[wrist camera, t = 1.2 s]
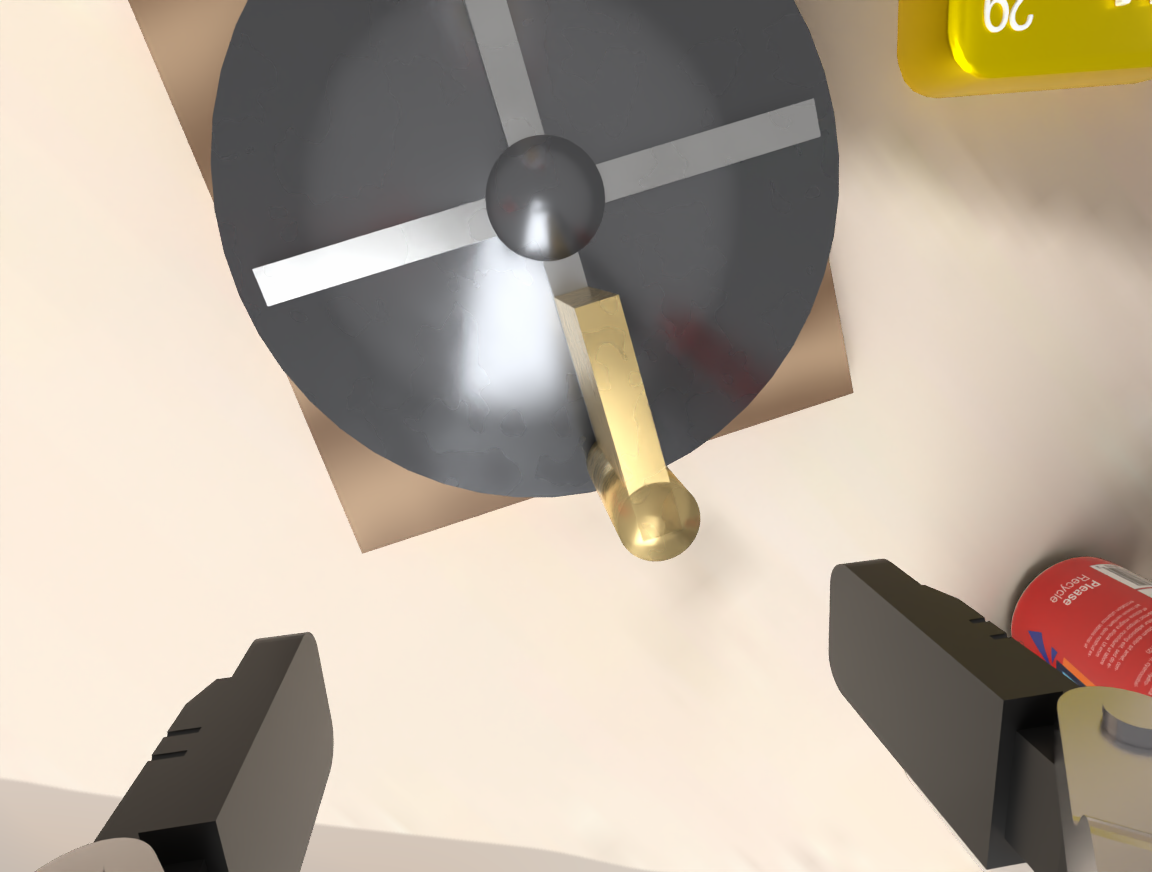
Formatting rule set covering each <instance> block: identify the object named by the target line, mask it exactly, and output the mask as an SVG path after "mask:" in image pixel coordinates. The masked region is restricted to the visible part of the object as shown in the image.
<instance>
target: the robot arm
mask: <svg viewBox="0 0 1152 872" xmlns="http://www.w3.org/2000/svg"><path fill="white" fill-rule="evenodd" d="M829 661H830V667H831V671H832V674H833V677H834V680H835V682H836V684H837V686H838V688H839V690H840V692H841V693H842V695H843V696H844V697H845V698H846V700H847V701H848V702H849V703H850V704H851V706H852V707H853V708H854V709H855V710H856V712H857V713H858V714H859V715H860V717H861V718H862V719H863V720H864V721H865V723H866V724H867V725H868V726H869V728H870V729H871V730H872V731H873V732H874V734H875V735H876V736H877V737H878V738H879V740H880V741H881V742H882V743H883V745H884V746H885V747H886V748H887V749H888V751H889V752H890V753H891V754H892V756H893V757H894V758H895V759H896V760H897V762H898V763H899V764H900V765H901V766H902V768H903V769H904V770H905V773H906V775H907V777H908V778H909V780H910V782H911V783H912V785H913V786H914V787H915V788H916V789H917V791H918V792H919V793H920V794H921V796H922V797H923V798H924V799H925V800H926V802H927V803H928V804H929V805H930V807H931V808H932V809H933V810H934V812H935V813H936V814H937V815H938V816H939V818H940V819H941V820H942V821H943V823H944V824H945V825H946V826H947V828H948V829H949V830H950V831H951V833H952V834H953V835H954V837H955V838H956V839H957V840H958V841H959V843H960V844H961V845H962V846H963V848H964V849H965V850H966V851H967V853H968V854H969V855H970V856H971V857H972V859H973V860H974V861H975V862H976V864H977V865H978V866H979V867H980V868H981V870H982V871H983V872H1152V697H1150V696H1147V695H1144V694H1140V693H1137V692H1133V691H1129V690H1125V689H1119V688H1113V687H1102V686H1087V687H1081V686H1079V685H1078V684H1076V683H1075V682H1074V681H1072V680H1071V679H1069V678H1068V677H1067V676H1065V675H1064V674H1062V673H1061V672H1060V671H1058V670H1057V669H1055V668H1054V667H1053V666H1051V665H1050V664H1048V663H1047V662H1046V661H1044V660H1043V659H1042V658H1040V657H1039V656H1037V655H1036V654H1035V653H1033V652H1032V651H1030V650H1029V649H1028V648H1026V647H1025V646H1023V645H1022V644H1021V643H1019V642H1018V641H1016V640H1015V639H1014V638H1012V637H1010V638H1008V637H1007V635H1006V633H1005V632H1004V631H1003V630H1001V629H1000V628H998V627H997V626H996V625H994V624H993V623H991V622H990V621H988V622H986V621H985V618H984V617H983V616H982V615H980V614H979V613H977V612H976V611H975V610H973V609H972V608H970V607H969V606H968V605H966V604H965V603H964V602H962V601H961V600H959V599H957V598H955V597H953V596H950V595H948V594H945V593H943V592H940V591H938V590H935V589H933V588H931V587H928V586H926V585H921V584H919V583H918V582H917V581H915V580H914V579H913V578H911V577H910V576H909V575H907V574H906V573H905V572H903V571H902V570H901V569H899V568H898V567H897V566H895V565H894V564H893V563H891V562H890V561H888V560H886V559H877V560H869V561H861V562H854V563H846V564H839V565H836V566H835V567H834V569H833V571H832V574H831V580H830V617H829ZM332 758H333V727H332V720H331V715H330V710H329V705H328V699H327V694H326V689H325V684H324V679H323V673H322V668H321V663H320V658H319V653H318V648H317V644H316V641H315V638H314V636H313V635H312V634H311V633H310V632H306V633H298V634H291V635H283V636H275V637H268V638H260V639H256V640H255V641H254V642H253V643H252V644H251V646H250V648H249V649H248V651H247V653H246V654H245V656H244V658H243V659H242V661H241V663H240V664H239V666H238V668H237V669H236V671H235V673H234V674H233V676H232V677H230V678H222V679H216V680H215V681H214V682H213V683H211V684H210V685H209V686H208V687H207V688H205V689H204V690H203V691H202V692H200V693H199V694H198V695H197V696H195V697H194V698H193V699H192V700H191V701H189V702H188V703H187V704H186V705H185V706H184V708H183V709H182V711H181V712H180V714H179V715H178V717H177V718H176V720H175V721H174V723H173V724H172V726H171V727H170V729H169V730H168V735H167V737H164V738H163V739H162V741H161V742H160V744H159V745H158V747H157V748H156V750H155V751H154V753H153V754H152V760H151V761H148V762H147V763H146V765H145V766H144V768H143V769H142V771H141V772H140V774H139V775H138V777H137V778H136V780H135V781H134V783H133V784H132V786H131V787H130V789H129V790H128V792H127V793H126V795H125V796H124V798H123V799H122V801H121V802H120V803H119V805H118V806H117V808H116V809H115V811H114V813H113V814H112V815H111V817H110V819H109V820H108V821H107V823H106V824H105V826H104V828H103V829H102V831H101V832H100V833H99V835H98V837H97V838H96V839H95V841H94V843H91V844H87V845H85V846H82V847H80V848H77V849H74V850H72V851H70V852H68V853H66V854H64V855H62V856H60V857H58V858H56V859H54V860H52V861H51V862H49V863H47V864H46V865H44V866H42V867H41V868H39V869H38V870H36V871H35V872H300V870H301V866H302V863H303V859H304V856H305V853H306V850H307V846H308V843H309V839H310V836H311V833H312V830H313V826H314V823H315V820H316V816H317V813H318V810H319V806H320V803H321V800H322V796H323V793H324V790H325V786H326V783H327V780H328V776H329V773H330V769H331V765H332Z"/></svg>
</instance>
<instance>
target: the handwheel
mask: <svg viewBox="0 0 1152 872" xmlns="http://www.w3.org/2000/svg"><path fill="white" fill-rule="evenodd" d="M211 174H212V186H213V197H214V209H215V213H216V218H217V222H218V227H219V232H220V236H221V241H222V245H223V250H224V254H225V257H226V259H227V262H228V265H229V268H230V271H231V274H232V276H233V279H234V282H235V285H236V288H237V290H238V293H239V296H240V298H241V300H242V302H243V304H244V306H245V308H246V310H247V312H248V314H249V316H250V318H251V320H252V322H253V324H254V326H255V327H256V329H257V331H258V333H259V335H260V337H261V338H262V340H263V341H264V343H265V344H266V346H267V347H268V349H269V350H270V352H271V353H272V355H273V356H274V358H275V359H276V360H277V362H278V363H279V365H280V366H281V368H282V369H283V371H284V372H285V373H286V374H287V375H288V376H289V378H290V379H291V380H292V381H293V382H294V383H295V385H296V386H297V387H298V388H299V389H300V390H301V391H302V393H303V394H304V395H305V396H306V397H307V398H308V400H309V401H310V402H311V403H312V404H313V405H315V406H316V407H317V408H318V409H319V410H320V411H321V412H322V413H323V414H325V415H326V416H327V417H328V418H329V419H330V420H331V421H332V422H333V423H335V424H336V425H337V426H338V427H339V428H340V429H341V430H343V431H344V432H346V433H347V434H348V435H350V436H351V437H353V438H354V439H356V440H357V441H358V442H360V443H361V444H363V445H364V446H366V447H367V448H368V449H370V450H371V451H373V452H374V453H376V454H378V455H380V456H382V457H384V458H386V459H388V460H390V461H391V462H393V463H395V464H397V465H399V466H401V467H403V468H405V469H406V470H408V471H411V472H414V473H416V474H419V475H422V476H424V477H427V478H429V479H432V480H435V481H437V482H440V483H443V484H446V485H450V486H454V487H458V488H462V489H466V490H470V491H474V492H478V493H485V494H493V495H502V496H510V497H559V496H566V495H574V494H581V493H589V492H593V491H597V492H598V494H599V496H600V498H601V500H602V502H603V504H604V506H605V509H606V511H607V513H608V515H609V517H610V519H611V521H612V523H613V525H614V527H615V529H616V531H617V533H618V535H619V537H620V539H621V541H622V543H623V545H624V546H625V547H626V549H627V550H628V551H629V552H630V553H632V554H633V555H635V556H636V557H638V558H641V559H643V560H648V561H664V560H668V559H671V558H673V557H676V556H677V555H679V554H681V553H682V552H683V551H685V550H686V549H687V548H688V547H689V546H690V545H691V543H692V542H693V540H694V539H695V537H696V535H697V533H698V530H699V526H700V511H699V507H698V504H697V502H696V500H695V499H694V497H693V496H692V495H691V494H690V492H689V491H688V490H687V489H686V488H685V487H684V486H683V484H682V483H681V482H680V481H679V480H678V479H677V478H676V476H675V475H674V474H673V473H672V472H671V471H670V470H669V469H668V467H667V465H669V464H671V463H672V462H674V461H676V460H678V459H680V458H681V457H683V456H685V455H687V454H689V453H691V452H692V451H693V450H695V449H696V448H698V447H699V446H700V445H702V444H703V443H705V442H706V441H707V440H709V439H710V438H712V437H713V436H714V435H716V434H717V433H719V432H720V431H721V430H722V429H723V428H724V427H726V426H727V425H728V424H729V423H730V422H731V421H732V420H733V419H734V418H735V417H736V416H737V415H739V414H740V413H741V412H742V411H743V410H744V409H745V408H746V407H747V406H748V405H749V404H750V403H751V402H752V401H753V399H754V398H755V397H756V396H757V395H758V394H759V392H760V391H761V390H762V389H763V388H764V387H765V385H766V384H767V383H768V382H769V381H770V379H771V378H772V377H773V375H774V374H775V373H776V371H777V370H778V368H779V367H780V365H781V364H782V362H783V361H784V359H785V358H786V356H787V355H788V353H789V352H790V350H791V349H792V347H793V345H794V343H795V341H796V340H797V338H798V336H799V334H800V332H801V330H802V328H803V326H804V324H805V322H806V320H807V318H808V316H809V314H810V312H811V309H812V307H813V304H814V301H815V299H816V296H817V293H818V291H819V288H820V285H821V283H822V280H823V277H824V274H825V270H826V266H827V262H828V258H829V253H830V249H831V245H832V241H833V237H834V229H835V221H836V213H837V205H838V197H839V153H838V144H837V135H836V126H835V117H834V111H833V106H832V102H831V98H830V94H829V89H828V85H827V81H826V77H825V72H824V69H823V67H822V64H821V61H820V59H819V56H818V53H817V50H816V48H815V45H814V42H813V39H812V37H811V34H810V31H809V29H808V27H807V25H806V23H805V21H804V19H803V18H802V16H801V14H800V12H799V10H798V8H797V6H796V4H795V2H794V0H248V1H247V3H246V5H245V7H244V9H243V11H242V13H241V15H240V17H239V19H238V21H237V23H236V25H235V28H234V31H233V34H232V37H231V41H230V44H229V47H228V50H227V53H226V56H225V59H224V62H223V65H222V68H221V72H220V78H219V83H218V89H217V94H216V100H215V105H214V111H213V117H212V140H211Z"/></svg>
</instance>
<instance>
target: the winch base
mask: <svg viewBox="0 0 1152 872" xmlns="http://www.w3.org/2000/svg"><path fill="white" fill-rule="evenodd" d="M128 1H129V3H130V6H131V8H132V10H133V13H134V15H135V17H136V20H137V22H138V25H139V27H140V29H141V32H142V34H143V36H144V39H145V41H146V43H147V46H148V48H149V51H150V53H151V55H152V58H153V60H154V62H155V65H156V67H157V69H158V72H159V74H160V77H161V79H162V81H163V84H164V86H165V88H166V91H167V93H168V95H169V98H170V100H171V103H172V105H173V107H174V110H175V112H176V114H177V117H178V119H179V121H180V124H181V126H182V129H183V131H184V133H185V136H186V138H187V140H188V143H189V145H190V147H191V150H192V152H193V154H194V157H195V159H196V162H197V164H198V166H199V169H200V171H201V173H202V176H203V178H204V180H205V183H206V185H207V188H208V190H209V192H210V195H211V197H212V199H213V202H214V197H213V186H212V174H211V140H212V117H213V111H214V105H215V100H216V94H217V89H218V83H219V78H220V72H221V68H222V65H223V62H224V59H225V56H226V53H227V50H228V47H229V44H230V41H231V37H232V34H233V31H234V28H235V25H236V23H237V21H238V19H239V17H240V15H241V13H242V11H243V9H244V7H245V5H246V3H247V1H248V0H128ZM287 377H288V379H289V381H290V384H291V386H292V388H293V391H294V393H295V396H296V398H297V400H298V403H299V405H300V407H301V410H302V412H303V414H304V417H305V419H306V422H307V424H308V426H309V429H310V431H311V433H312V436H313V438H314V440H315V443H316V445H317V448H318V450H319V452H320V455H321V457H322V459H323V462H324V464H325V466H326V469H327V471H328V474H329V476H330V478H331V481H332V483H333V485H334V488H335V490H336V492H337V495H338V497H339V500H340V502H341V504H342V507H343V509H344V511H345V514H346V516H347V518H348V521H349V523H350V526H351V528H352V530H353V533H354V535H355V537H356V540H357V542H358V544H359V547H360V549H361V552H362V554H363V553H366V552H369V551H372V550H375V549H378V548H381V547H384V546H387V545H390V544H393V543H396V542H399V541H402V540H405V539H408V538H411V537H414V536H418V535H421V534H424V533H427V532H430V531H433V530H436V529H439V528H442V527H445V526H448V525H451V524H454V523H457V522H460V521H463V520H466V519H469V518H473V517H476V516H479V515H482V514H485V513H488V512H491V511H494V510H497V509H500V508H503V507H506V506H509V505H512V504H515V503H518V502H521V501H524V500H528V499H531V498H534V497H510V496H502V495H493V494H485V493H478V492H474V491H470V490H466V489H462V488H458V487H454V486H450V485H446V484H443V483H440V482H437V481H435V480H432V479H429V478H427V477H424V476H422V475H419V474H416V473H414V472H411V471H408V470H406V469H405V468H403V467H401V466H399V465H397V464H395V463H393V462H391V461H390V460H388V459H386V458H384V457H382V456H380V455H378V454H376V453H374V452H373V451H371V450H370V449H368V448H367V447H366V446H364V445H363V444H361V443H360V442H358V441H357V440H356V439H354V438H353V437H351V436H350V435H348V434H347V433H346V432H344V431H343V430H341V429H340V428H339V427H338V426H337V425H336V424H335V423H333V422H332V421H331V420H330V419H329V418H328V417H327V416H326V415H325V414H323V413H322V412H321V411H320V410H319V409H318V408H317V407H316V406H315V405H313V404H312V403H311V402H310V401H309V400H308V398H307V397H306V396H305V395H304V394H303V393H302V391H301V390H300V389H299V388H298V387H297V386H296V385H295V383H294V382H293V381H292V380H291V379H290V378H289V376H288V375H287ZM851 393H853V388H852V382H851V377H850V371H849V366H848V361H847V355H846V350H845V344H844V339H843V334H842V328H841V323H840V317H839V312H838V307H837V301H836V296H835V290H834V285H833V280H832V274H831V269H830V263H829V258H828V262H827V266H826V270H825V274H824V277H823V280H822V283H821V285H820V288H819V291H818V293H817V296H816V299H815V301H814V304H813V307H812V309H811V312H810V314H809V316H808V318H807V320H806V322H805V324H804V326H803V328H802V330H801V332H800V334H799V336H798V338H797V340H796V341H795V343H794V345H793V347H792V349H791V350H790V352H789V353H788V355H787V356H786V358H785V359H784V361H783V362H782V364H781V365H780V367H779V368H778V370H777V371H776V373H775V374H774V375H773V377H772V378H771V379H770V381H769V382H768V383H767V384H766V385H765V387H764V388H763V389H762V390H761V391H760V392H759V394H758V395H757V396H756V397H755V398H754V399H753V401H752V402H751V403H750V404H749V405H748V406H747V407H746V408H745V409H744V410H743V411H742V412H741V413H740V414H739V415H737V416H736V417H735V418H734V419H733V420H732V421H731V422H730V423H729V424H728V425H727V426H726V427H724V428H723V429H722V430H721V431H720V432H719V433H717V434H716V435H714V436H713V437H712V438H710V439H709V440H711V439H714V438H717V437H720V436H723V435H726V434H729V433H732V432H735V431H738V430H741V429H744V428H748V427H751V426H754V425H757V424H760V423H763V422H766V421H769V420H772V419H775V418H778V417H781V416H784V415H787V414H790V413H793V412H796V411H800V410H803V409H806V408H809V407H812V406H815V405H818V404H821V403H824V402H827V401H830V400H833V399H836V398H839V397H842V396H845V395H848V394H851ZM707 441H708V440H707Z"/></svg>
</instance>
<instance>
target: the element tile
mask: <svg viewBox="0 0 1152 872" xmlns="http://www.w3.org/2000/svg"><path fill="white" fill-rule="evenodd" d="M897 58H898V64H899V68H900V70H901V73H902V76H903V79H904V81H905V82H906V83H907V85H908V86H909V87H910V88H911V89H912V90H913V91H914V92H916V93H919V94H921V95H923V96H926V97H932V98H946V97H960V96H973V95H987V94H1000V93H1014V92H1027V91H1041V90H1054V89H1068V88H1081V87H1094V86H1108V85H1121V84H1135V83H1139V82H1143V81H1147V80H1150V79H1152V0H899V6H898V41H897Z"/></svg>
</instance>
